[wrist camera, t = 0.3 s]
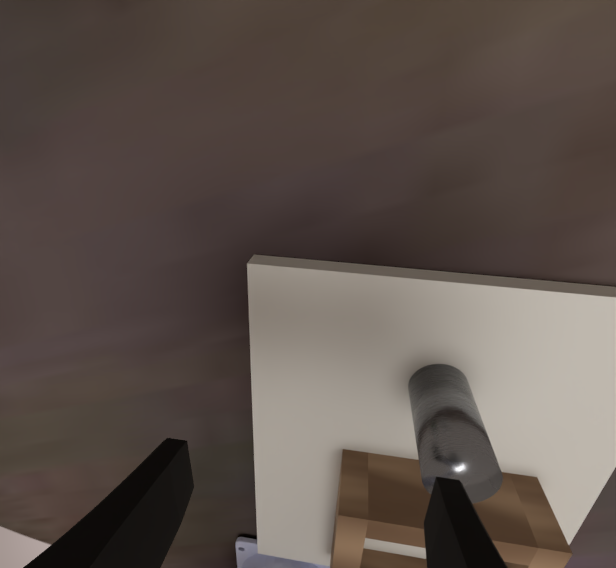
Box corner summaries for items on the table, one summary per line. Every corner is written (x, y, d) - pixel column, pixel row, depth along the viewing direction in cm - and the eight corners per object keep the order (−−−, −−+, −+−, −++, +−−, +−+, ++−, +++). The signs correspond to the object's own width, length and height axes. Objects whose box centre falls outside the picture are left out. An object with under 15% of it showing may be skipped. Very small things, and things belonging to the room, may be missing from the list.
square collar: (488, 582, 26) (507, 659, 22) (330, 554, 27) (325, 623, 23) (537, 476, 21) (572, 553, 17) (342, 448, 22) (338, 515, 18)
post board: (527, 583, 27) (572, 714, 21) (261, 537, 29) (235, 643, 23) (688, 293, 16) (863, 394, 11) (253, 254, 19) (203, 320, 13)
